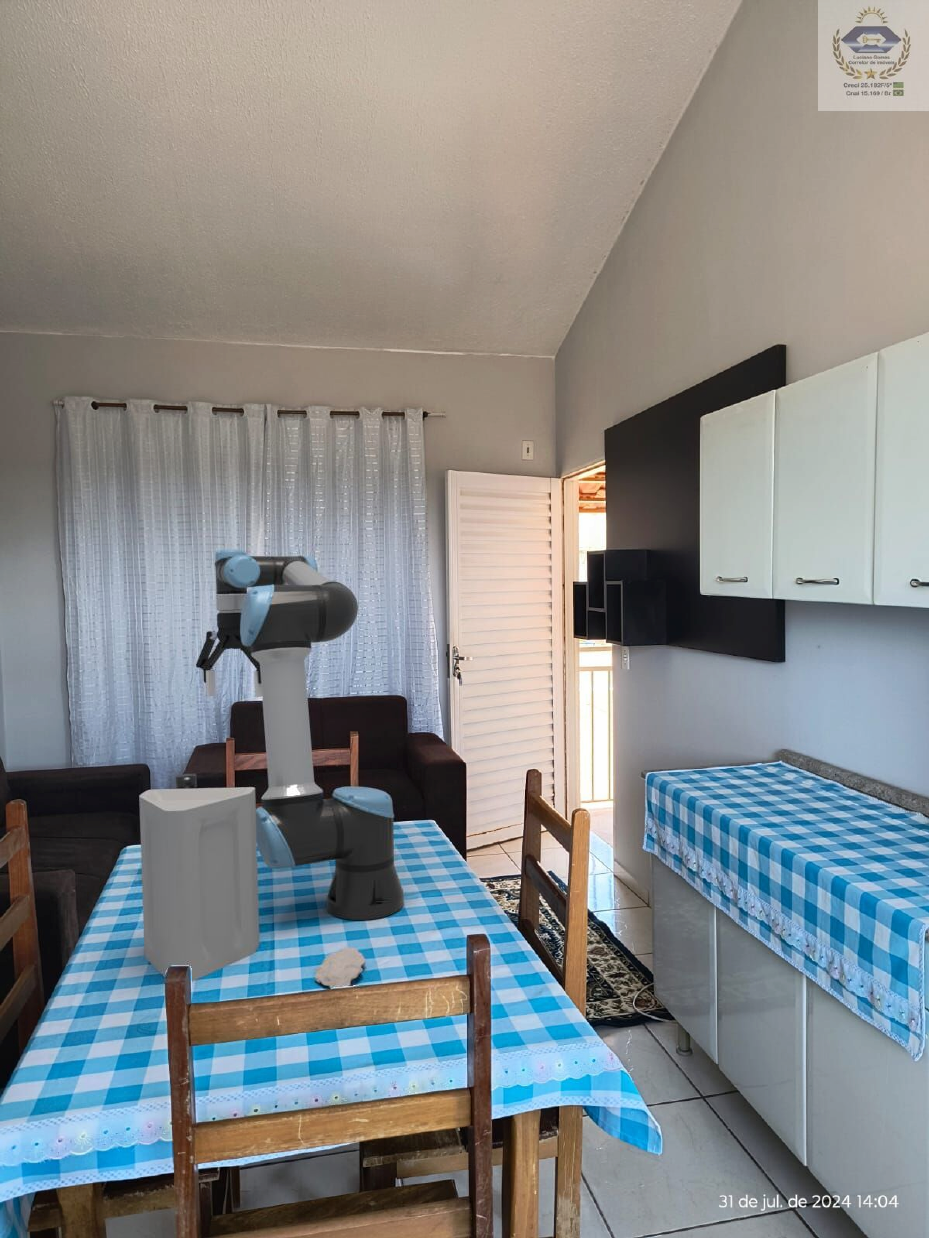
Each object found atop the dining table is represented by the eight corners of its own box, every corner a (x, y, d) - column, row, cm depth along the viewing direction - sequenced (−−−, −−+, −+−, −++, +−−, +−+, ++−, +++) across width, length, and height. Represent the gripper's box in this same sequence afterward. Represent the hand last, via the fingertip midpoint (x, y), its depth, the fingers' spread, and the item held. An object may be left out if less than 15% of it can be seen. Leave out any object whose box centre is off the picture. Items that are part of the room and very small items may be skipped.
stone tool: (367, 996, 126) (363, 960, 141) (367, 976, 126) (364, 942, 141) (313, 998, 125) (315, 961, 140) (314, 978, 125) (316, 943, 140)
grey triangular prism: (120, 984, 131) (114, 812, 130) (153, 944, 146) (148, 789, 145) (239, 981, 131) (234, 809, 130) (260, 941, 146) (256, 786, 145)
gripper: (284, 610, 204) (286, 695, 205) (197, 611, 211) (200, 693, 212) (269, 611, 197) (271, 699, 198) (180, 612, 204) (182, 697, 205)
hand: (234, 696), depth 205 cm, fingers open, 13 cm apart
